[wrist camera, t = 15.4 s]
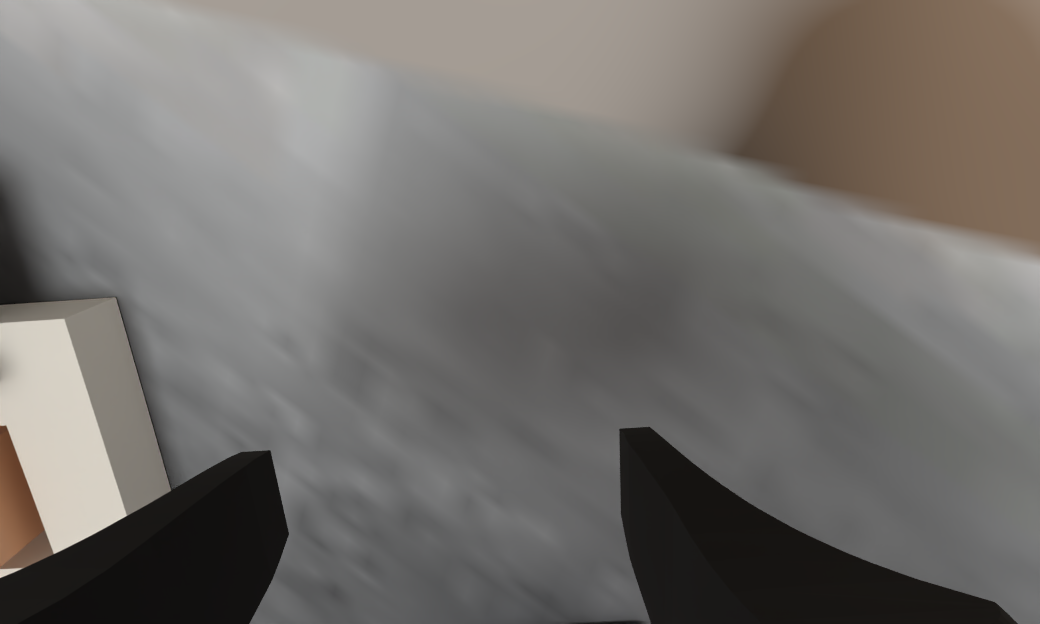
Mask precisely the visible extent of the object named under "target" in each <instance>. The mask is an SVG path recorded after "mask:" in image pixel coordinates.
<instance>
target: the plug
mask: <svg viewBox="0 0 1040 624" xmlns="http://www.w3.org/2000/svg"><path fill="white" fill-rule="evenodd" d="M44 530H45V528H44V526H43V523H42V520H41V518H40V515H39V512H38V510H37V507H36V504H35V501H34V499H33V496H32V493H31V491H30V488H29V485H28V483H27V480H26V477H25V474H24V472H23V469H22V466H21V464H20V461H19V458H18V456H17V453H16V450H15V447H14V445H13V442H12V439H11V437H10V434H9V431H8V429H7V426H6V425H5V426H0V567H1V566H3V565H4V564H5V563H6V562H7V561H8V560H10V559H11V558H12V557H13V556H14V555H16V554H17V553H18V552H19V551H20V550H21V549H23V548H24V547H25V546H26V545H27V544H29V543H30V542H31V541H32V540H33V539H34V538H36V537H37V536H38V535H39V534H40V533H42V532H43V531H44Z"/></svg>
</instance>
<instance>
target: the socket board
mask: <svg viewBox="0 0 1040 624" xmlns="http://www.w3.org/2000/svg"><path fill="white" fill-rule="evenodd" d="M5 425H6V426H7V429H8V431H9V434H10V437H11V439H12V442H13V445H14V447H15V450H16V453H17V456H18V458H19V461H20V464H21V466H22V469H23V472H24V474H25V477H26V480H27V483H28V485H29V488H30V491H31V493H32V496H33V499H34V501H35V504H36V507H37V510H38V512H39V515H40V518H41V520H42V523H43V526H44V528H45V530H44V531H43V532H42V533H40V534H39V535H38V536H37V537H36V538H34V539H33V540H32V541H31V542H30V543H29V544H27V545H26V546H25V547H24V548H23V549H21V550H20V551H19V552H18V553H17V554H16V555H14V556H13V557H12V558H11V559H10V560H8V561H7V562H6V563H5V564H4V565H3V566H1V567H0V578H1V577H4V576H6V575H9V574H11V573H14V572H16V571H18V570H20V569H23V568H25V567H27V566H29V565H31V564H33V563H36V562H38V561H40V560H42V559H44V558H46V557H48V556H51V555H53V554H55V553H57V552H59V551H61V550H63V549H65V548H67V547H69V546H71V545H73V544H75V543H77V542H79V541H81V540H83V539H85V538H87V537H89V536H91V535H93V534H95V533H97V532H98V531H100V530H102V529H104V528H106V527H108V526H109V525H111V524H113V523H115V522H117V521H118V520H120V519H122V518H124V517H126V516H128V515H129V514H131V513H133V512H135V511H137V510H138V509H140V508H142V507H144V506H146V505H147V504H149V503H151V502H153V501H154V500H156V499H158V498H159V497H161V496H163V495H165V494H166V493H168V492H170V491H171V488H170V485H169V481H168V478H167V474H166V471H165V467H164V464H163V460H162V457H161V453H160V450H159V446H158V443H157V439H156V436H155V432H154V429H153V425H152V422H151V419H150V415H149V412H148V408H147V405H146V401H145V398H144V394H143V391H142V387H141V384H140V380H139V377H138V373H137V370H136V366H135V363H134V359H133V356H132V352H131V349H130V345H129V342H128V338H127V335H126V331H125V328H124V324H123V321H122V317H121V314H120V310H119V307H118V303H117V300H116V297H112V298H97V299H82V300H67V301H52V302H37V303H22V304H7V305H0V426H5Z"/></svg>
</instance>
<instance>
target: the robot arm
mask: <svg viewBox="0 0 1040 624" xmlns="http://www.w3.org/2000/svg"><path fill="white" fill-rule="evenodd" d="M620 482H621V516H622V521H623V527H624V532H625V537H626V542H627V547H628V552H629V556H630V560H631V563H632V567H633V570H634V573H635V576H636V579H637V582H638V585H639V588H640V591H641V594H642V597H643V600H644V603H645V606H646V609H647V612H648V615H649V618H650V621H651V624H1017V623H1016V622H1015V621H1014V620H1013V619H1012V618H1011V617H1010V616H1009V615H1008V614H1007V613H1006V612H1005V611H1004V610H1003V609H1002V608H1001V607H1000V606H999V605H998V604H996V603H995V602H992V601H989V600H986V599H982V598H979V597H975V596H972V595H969V594H965V593H962V592H958V591H955V590H952V589H948V588H945V587H941V586H938V585H935V584H931V583H928V582H924V581H921V580H918V579H915V578H912V577H909V576H906V575H903V574H901V573H898V572H895V571H892V570H890V569H887V568H884V567H881V566H879V565H876V564H873V563H870V562H868V561H865V560H863V559H860V558H858V557H855V556H853V555H850V554H848V553H846V552H843V551H841V550H839V549H836V548H834V547H832V546H830V545H828V544H825V543H823V542H821V541H819V540H817V539H815V538H812V537H810V536H808V535H806V534H804V533H802V532H800V531H798V530H796V529H794V528H792V527H790V526H788V525H786V524H785V523H783V522H781V521H779V520H777V519H776V518H774V517H772V516H770V515H769V514H767V513H765V512H763V511H761V510H760V509H758V508H756V507H755V506H753V505H751V504H750V503H748V502H747V501H745V500H743V499H742V498H741V497H739V496H738V495H736V494H735V493H733V492H732V491H730V490H729V489H727V488H726V487H724V486H723V485H721V484H720V483H719V482H717V481H716V480H714V479H713V478H712V477H710V476H709V475H708V474H706V473H705V472H704V471H702V470H701V469H700V468H699V467H697V466H696V465H695V464H693V463H692V462H691V461H690V460H688V459H687V458H686V457H685V456H684V455H682V454H681V453H680V452H679V451H678V450H676V449H675V448H674V447H673V446H672V445H670V444H669V443H668V442H667V441H666V440H665V439H663V438H662V437H661V436H660V435H659V434H658V433H656V432H655V431H654V430H653V429H651V428H650V427H641V428H625V429H620ZM288 535H289V532H288V528H287V523H286V519H285V514H284V510H283V505H282V501H281V496H280V492H279V487H278V483H277V478H276V474H275V469H274V465H273V460H272V456H271V451H270V450H268V451H252V452H241V453H238V454H236V455H234V456H231V457H229V458H227V459H225V460H224V461H222V462H220V463H218V464H216V465H214V466H213V467H211V468H209V469H207V470H206V471H204V472H202V473H200V474H199V475H197V476H195V477H193V478H192V479H190V480H188V481H187V482H185V483H183V484H182V485H180V486H178V487H176V488H175V489H173V490H171V491H170V492H168V493H166V494H165V495H163V496H161V497H159V498H158V499H156V500H154V501H153V502H151V503H149V504H147V505H146V506H144V507H142V508H140V509H138V510H137V511H135V512H133V513H131V514H129V515H128V516H126V517H124V518H122V519H120V520H118V521H117V522H115V523H113V524H111V525H109V526H108V527H106V528H104V529H102V530H100V531H98V532H97V533H95V534H93V535H91V536H89V537H87V538H85V539H83V540H81V541H79V542H77V543H75V544H73V545H71V546H69V547H67V548H65V549H63V550H61V551H59V552H57V553H55V554H53V555H51V556H48V557H46V558H44V559H42V560H40V561H38V562H36V563H33V564H31V565H29V566H27V567H25V568H23V569H20V570H18V571H16V572H14V573H11V574H9V575H6V576H4V577H1V578H0V624H249V623H250V621H251V619H252V617H253V616H254V614H255V612H256V610H257V608H258V606H259V604H260V602H261V600H262V598H263V597H264V595H265V593H266V591H267V589H268V587H269V585H270V583H271V581H272V579H273V576H274V574H275V571H276V569H277V566H278V563H279V561H280V558H281V555H282V552H283V549H284V547H285V544H286V541H287V538H288Z"/></svg>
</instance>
